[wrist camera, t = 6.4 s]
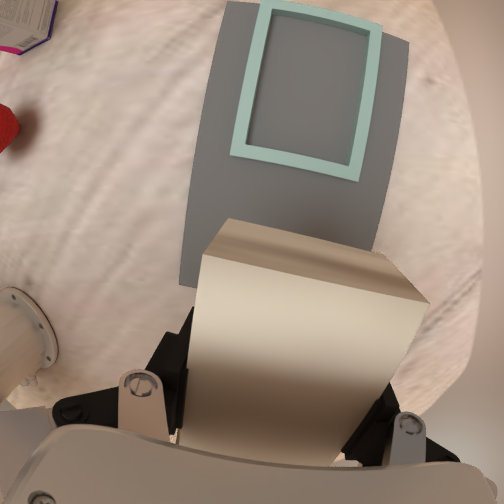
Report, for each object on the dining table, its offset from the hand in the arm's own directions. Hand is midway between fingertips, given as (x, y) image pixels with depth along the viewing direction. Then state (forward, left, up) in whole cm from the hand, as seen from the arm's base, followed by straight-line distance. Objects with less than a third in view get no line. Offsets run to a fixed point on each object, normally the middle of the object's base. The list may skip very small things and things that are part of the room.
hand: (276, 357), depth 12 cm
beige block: (0, 0, -1) cm, 1 cm away
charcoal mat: (+8, 0, -14) cm, 17 cm away
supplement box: (+21, +31, -15) cm, 40 cm away
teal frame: (+14, 0, -14) cm, 20 cm away
